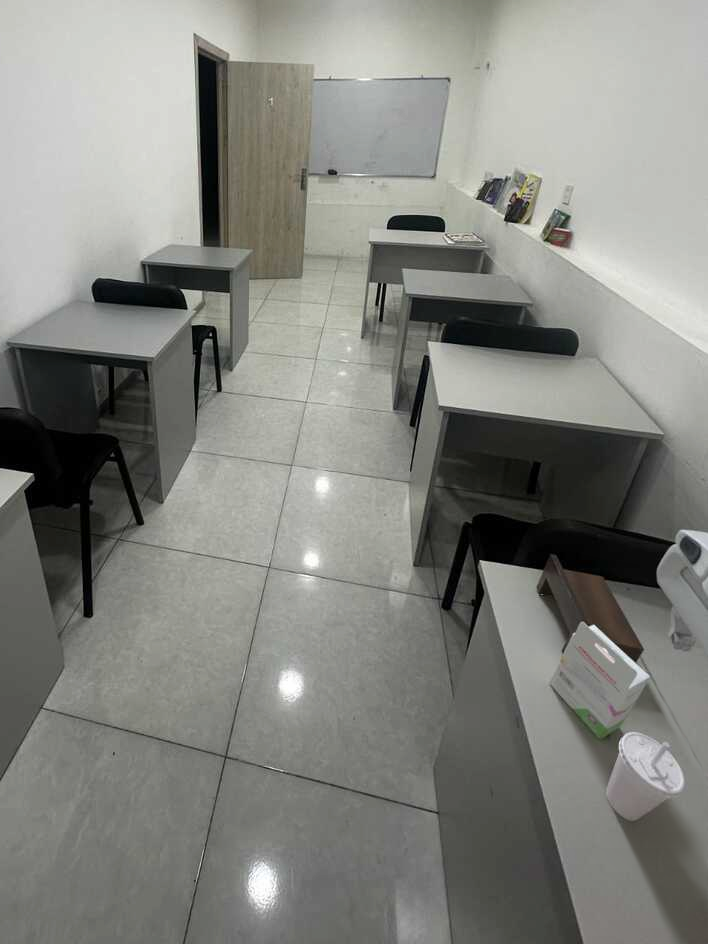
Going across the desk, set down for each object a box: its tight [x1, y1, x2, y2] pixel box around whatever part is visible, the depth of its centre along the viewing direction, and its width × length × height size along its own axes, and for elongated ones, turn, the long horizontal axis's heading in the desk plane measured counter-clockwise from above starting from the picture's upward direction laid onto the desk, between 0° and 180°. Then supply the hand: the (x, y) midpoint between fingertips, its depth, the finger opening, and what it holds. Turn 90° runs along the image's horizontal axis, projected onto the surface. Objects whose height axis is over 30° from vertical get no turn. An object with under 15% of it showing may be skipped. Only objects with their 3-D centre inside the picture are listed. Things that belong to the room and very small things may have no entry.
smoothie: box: [605, 731, 686, 822], centre depth 60 cm, size 6×6×14 cm
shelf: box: [535, 553, 645, 664], centre depth 83 cm, size 10×14×9 cm
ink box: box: [549, 622, 651, 741], centre depth 70 cm, size 9×5×15 cm, turn 22°
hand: (703, 685), depth 53 cm, fingers open, 8 cm apart
